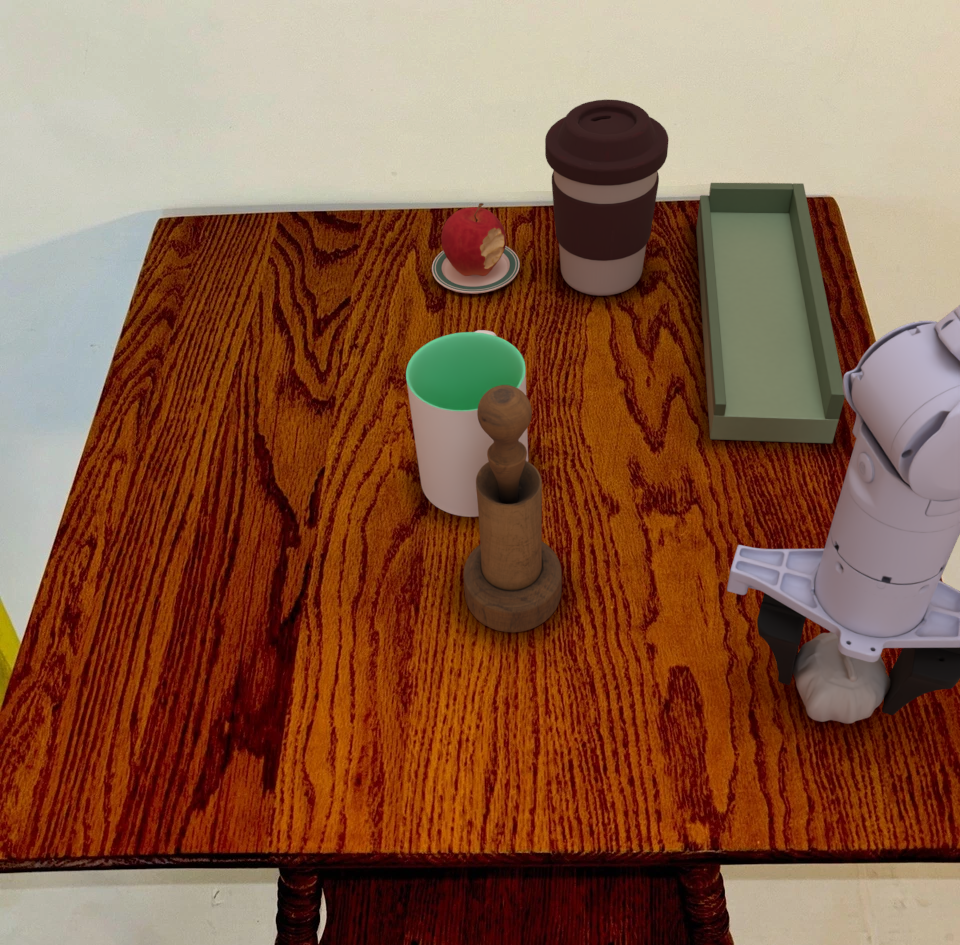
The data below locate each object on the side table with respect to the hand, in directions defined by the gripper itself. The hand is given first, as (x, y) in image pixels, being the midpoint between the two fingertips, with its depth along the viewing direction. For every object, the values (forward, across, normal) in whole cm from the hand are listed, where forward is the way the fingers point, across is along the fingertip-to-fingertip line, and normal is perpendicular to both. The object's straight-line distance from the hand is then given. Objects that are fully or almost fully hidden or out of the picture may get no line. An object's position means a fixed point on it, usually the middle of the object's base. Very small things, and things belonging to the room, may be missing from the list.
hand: (836, 684), depth 62 cm
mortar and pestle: (+2, -21, +1) cm, 21 cm away
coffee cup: (+2, -26, +37) cm, 45 cm away
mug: (+2, -28, +12) cm, 31 cm away
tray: (+2, -11, +34) cm, 36 cm away
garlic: (+2, 0, 0) cm, 2 cm away
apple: (+2, -37, +34) cm, 50 cm away
